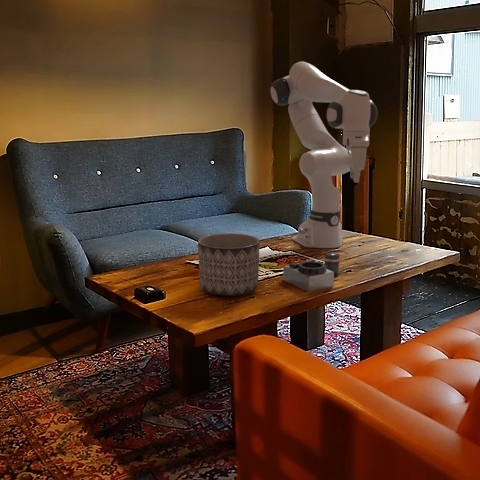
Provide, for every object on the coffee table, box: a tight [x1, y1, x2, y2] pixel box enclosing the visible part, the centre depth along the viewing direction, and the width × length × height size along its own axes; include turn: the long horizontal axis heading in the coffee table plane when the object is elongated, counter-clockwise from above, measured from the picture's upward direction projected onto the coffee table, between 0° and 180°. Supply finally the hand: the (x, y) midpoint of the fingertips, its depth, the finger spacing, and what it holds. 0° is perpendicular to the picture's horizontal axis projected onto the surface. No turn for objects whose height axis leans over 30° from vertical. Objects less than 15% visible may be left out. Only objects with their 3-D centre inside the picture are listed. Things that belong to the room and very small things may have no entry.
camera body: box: [282, 260, 335, 293], centre depth 204 cm, size 14×10×7 cm
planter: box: [197, 232, 261, 297], centre depth 195 cm, size 19×19×16 cm
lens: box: [323, 252, 340, 278], centre depth 214 cm, size 5×5×7 cm
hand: (354, 180), depth 213 cm, fingers open, 8 cm apart
